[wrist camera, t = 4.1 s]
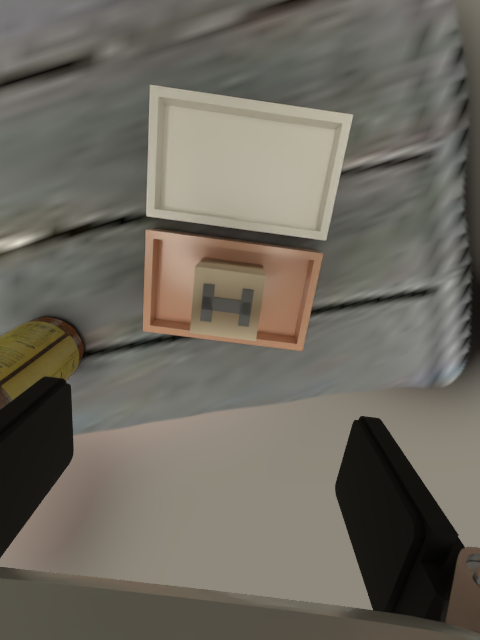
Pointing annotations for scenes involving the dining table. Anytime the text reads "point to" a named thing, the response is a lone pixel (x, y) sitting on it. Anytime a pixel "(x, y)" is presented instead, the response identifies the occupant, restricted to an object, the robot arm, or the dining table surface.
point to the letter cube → (227, 298)
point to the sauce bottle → (37, 355)
